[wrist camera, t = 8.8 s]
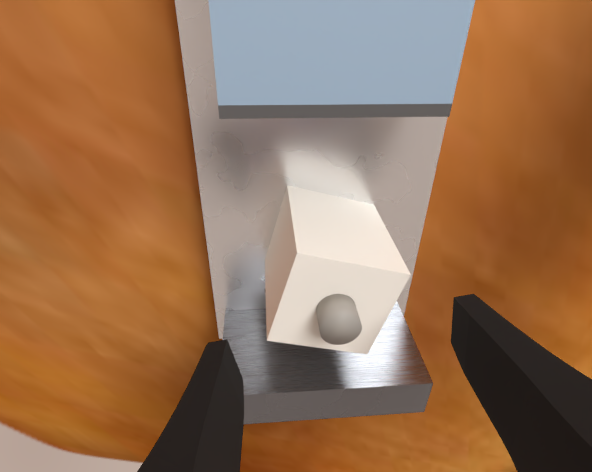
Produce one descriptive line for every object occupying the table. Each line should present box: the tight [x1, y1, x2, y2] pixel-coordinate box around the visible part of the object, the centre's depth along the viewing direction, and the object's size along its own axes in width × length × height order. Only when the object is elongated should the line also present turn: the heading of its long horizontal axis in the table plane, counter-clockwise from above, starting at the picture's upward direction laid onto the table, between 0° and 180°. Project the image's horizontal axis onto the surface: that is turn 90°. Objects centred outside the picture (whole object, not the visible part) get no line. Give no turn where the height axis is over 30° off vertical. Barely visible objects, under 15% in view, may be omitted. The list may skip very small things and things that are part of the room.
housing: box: [265, 185, 411, 354], centre depth 15 cm, size 4×4×6 cm
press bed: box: [175, 0, 447, 424], centre depth 14 cm, size 10×21×6 cm, turn 179°
